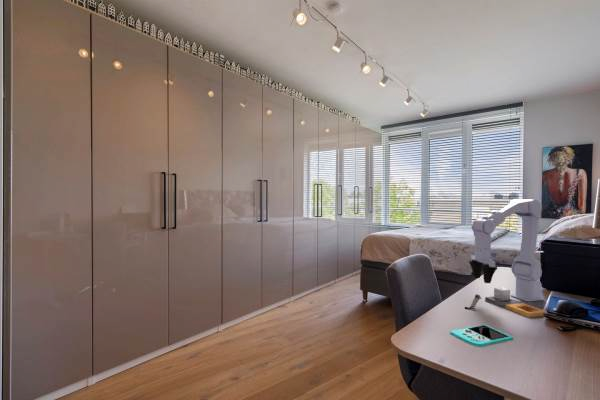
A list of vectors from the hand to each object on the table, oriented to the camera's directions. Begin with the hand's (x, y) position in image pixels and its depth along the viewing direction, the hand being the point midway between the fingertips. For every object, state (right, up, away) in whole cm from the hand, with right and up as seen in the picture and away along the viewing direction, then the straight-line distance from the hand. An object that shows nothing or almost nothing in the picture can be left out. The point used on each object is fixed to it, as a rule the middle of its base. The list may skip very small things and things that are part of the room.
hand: (482, 280), depth 126 cm
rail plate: (+11, -10, -4) cm, 15 cm away
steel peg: (+9, -10, +1) cm, 14 cm away
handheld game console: (-18, -11, -30) cm, 36 cm away
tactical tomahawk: (-2, -10, 0) cm, 11 cm away
